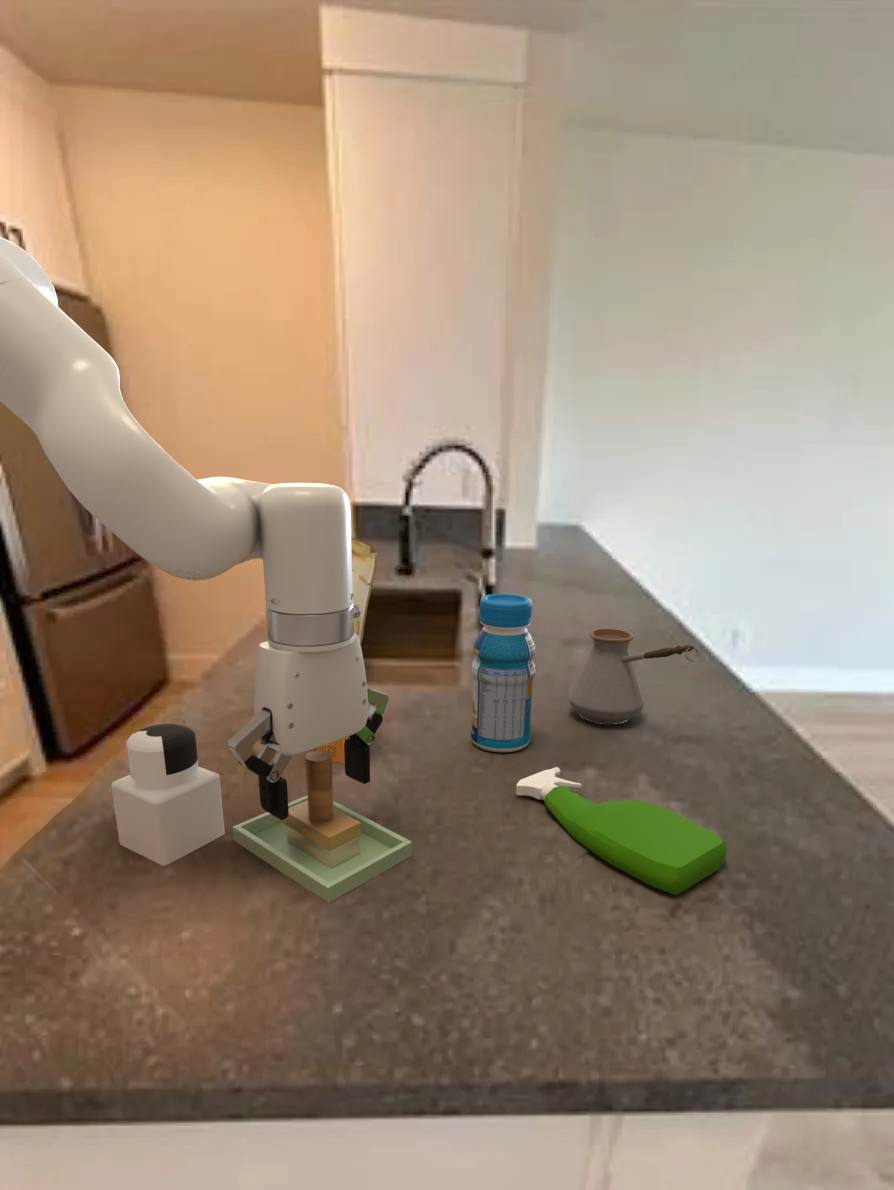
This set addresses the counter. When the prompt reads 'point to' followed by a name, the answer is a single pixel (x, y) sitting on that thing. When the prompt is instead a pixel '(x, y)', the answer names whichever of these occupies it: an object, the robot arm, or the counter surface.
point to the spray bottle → (632, 834)
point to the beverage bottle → (503, 674)
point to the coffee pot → (612, 678)
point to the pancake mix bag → (362, 586)
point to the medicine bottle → (166, 796)
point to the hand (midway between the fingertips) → (318, 795)
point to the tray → (328, 883)
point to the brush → (322, 817)
